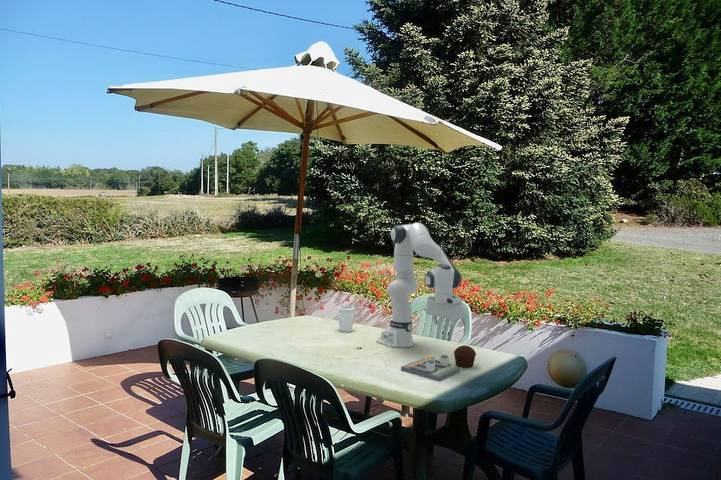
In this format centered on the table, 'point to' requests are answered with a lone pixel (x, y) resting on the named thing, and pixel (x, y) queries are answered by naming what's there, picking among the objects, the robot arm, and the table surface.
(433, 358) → the breaker mid
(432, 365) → the breaker
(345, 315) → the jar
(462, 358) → the muffin
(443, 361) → the breaker
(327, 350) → the table surface
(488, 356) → the table surface
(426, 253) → the robot arm
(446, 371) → the panel
